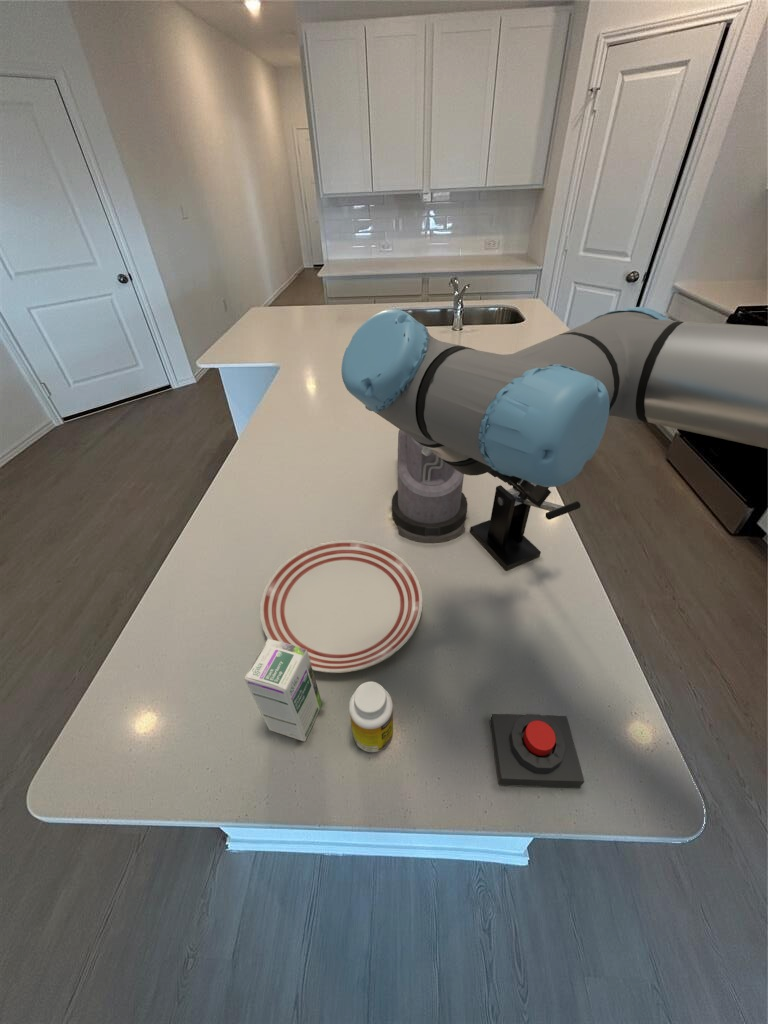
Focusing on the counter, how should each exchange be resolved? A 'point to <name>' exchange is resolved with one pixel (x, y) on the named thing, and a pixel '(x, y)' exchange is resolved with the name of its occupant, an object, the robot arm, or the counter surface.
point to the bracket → (506, 531)
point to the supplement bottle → (371, 717)
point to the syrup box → (285, 689)
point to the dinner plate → (343, 604)
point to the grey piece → (427, 495)
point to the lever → (547, 505)
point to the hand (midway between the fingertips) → (541, 497)
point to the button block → (527, 767)
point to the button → (539, 738)
